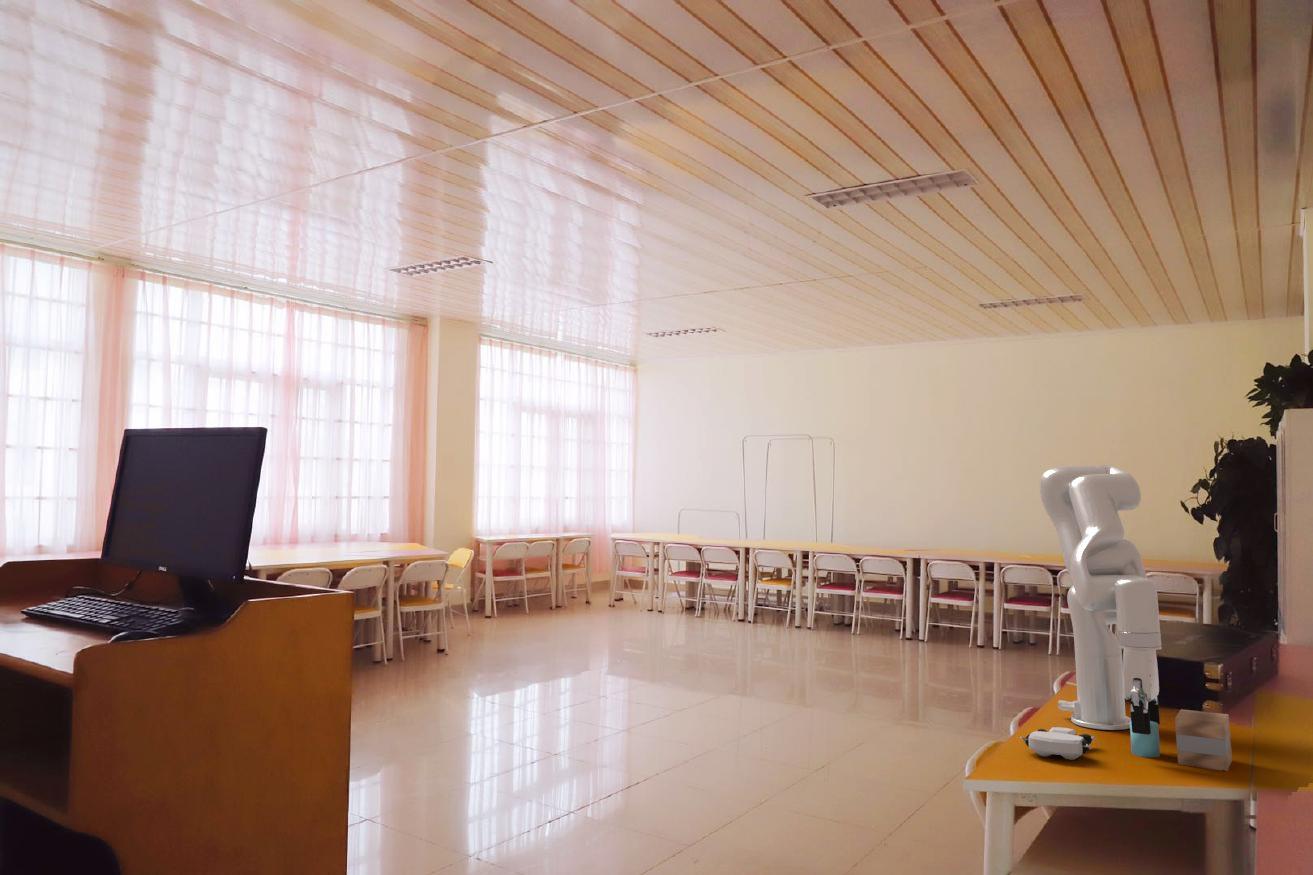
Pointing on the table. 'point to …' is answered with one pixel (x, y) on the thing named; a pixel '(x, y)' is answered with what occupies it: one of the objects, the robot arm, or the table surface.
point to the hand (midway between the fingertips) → (1146, 728)
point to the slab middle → (1203, 745)
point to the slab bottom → (1205, 760)
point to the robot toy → (1059, 742)
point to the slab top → (1202, 724)
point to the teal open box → (1146, 742)
